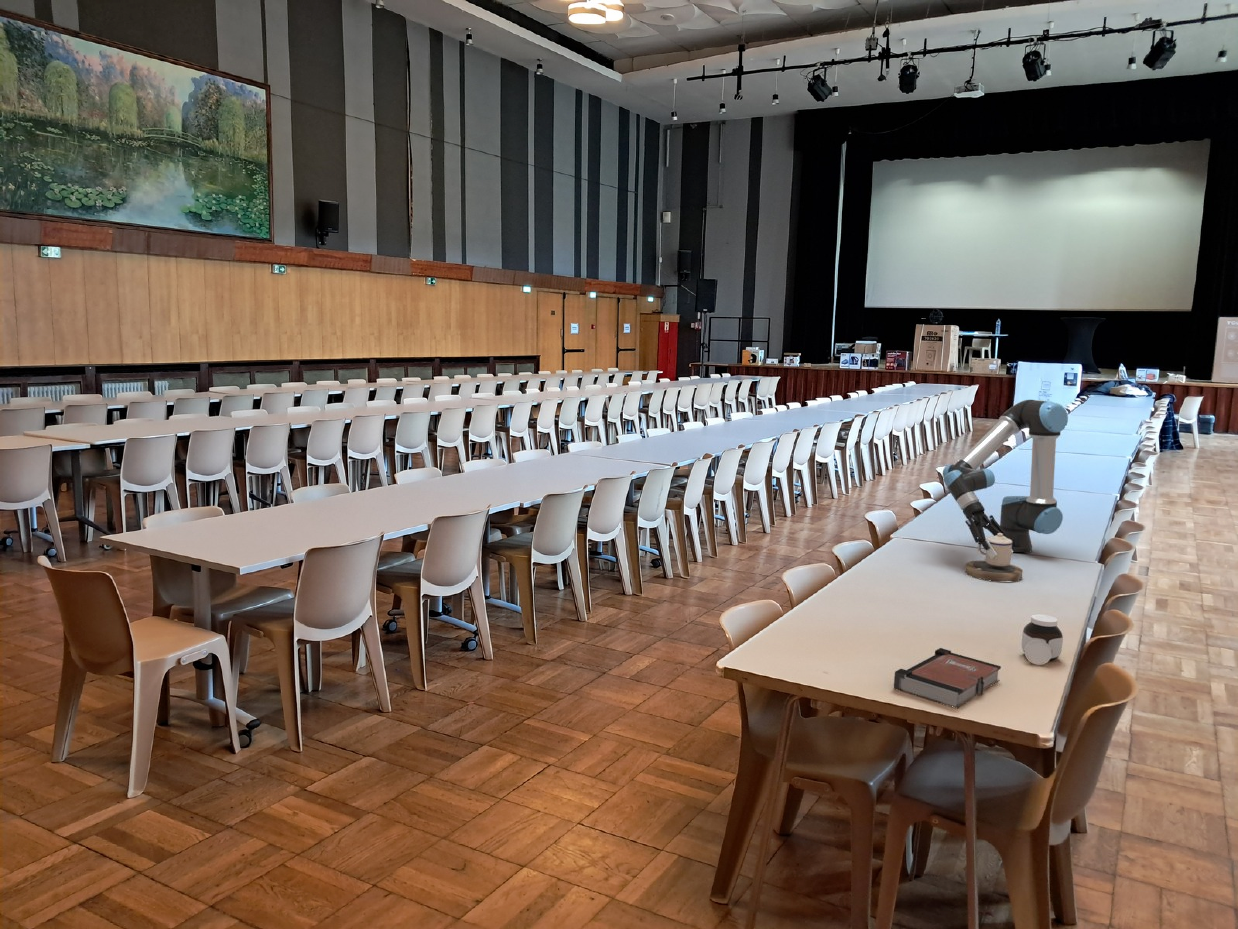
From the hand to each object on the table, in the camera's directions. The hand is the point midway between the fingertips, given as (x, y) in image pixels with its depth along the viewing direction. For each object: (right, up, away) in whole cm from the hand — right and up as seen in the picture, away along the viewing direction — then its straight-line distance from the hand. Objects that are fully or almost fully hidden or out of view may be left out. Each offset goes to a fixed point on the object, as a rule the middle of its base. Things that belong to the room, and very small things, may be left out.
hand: (1002, 555), depth 340 cm
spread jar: (-25, -21, -84) cm, 91 cm away
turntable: (-2, -8, +4) cm, 9 cm away
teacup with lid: (-2, -3, +3) cm, 5 cm away
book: (-59, -24, -105) cm, 122 cm away
